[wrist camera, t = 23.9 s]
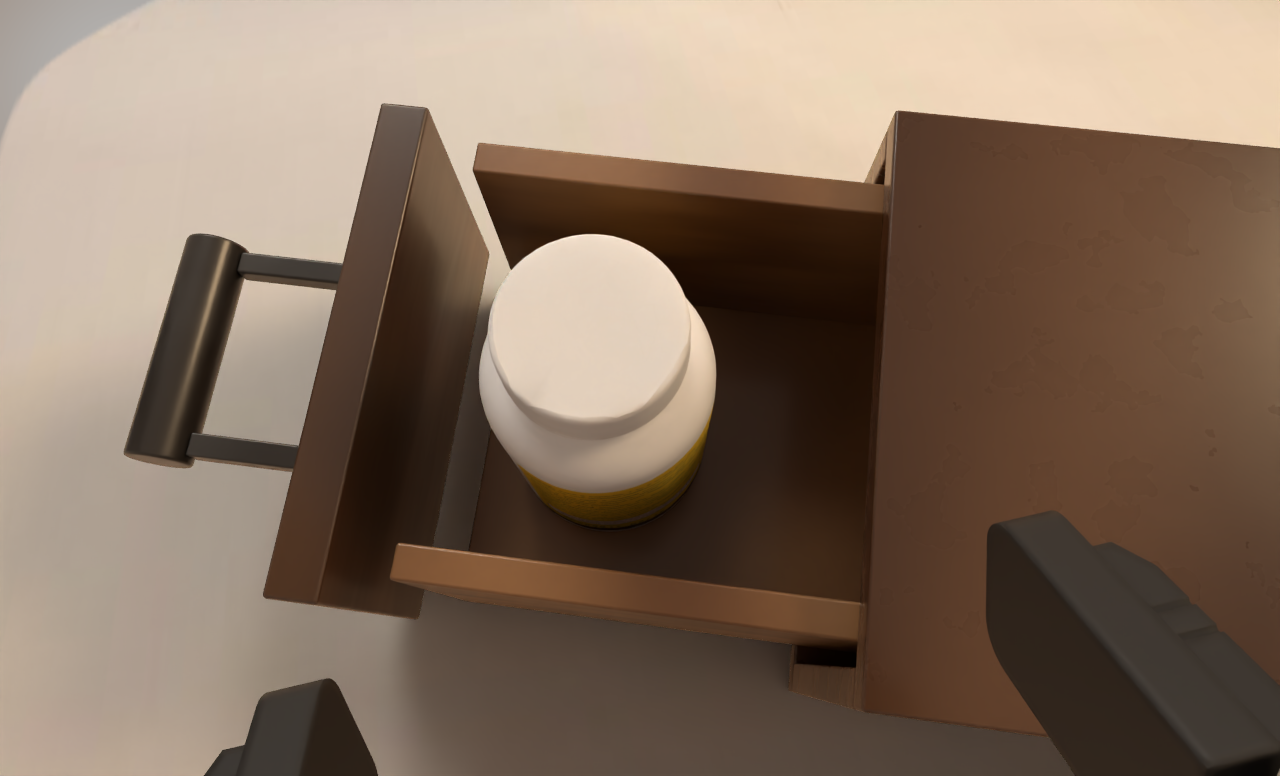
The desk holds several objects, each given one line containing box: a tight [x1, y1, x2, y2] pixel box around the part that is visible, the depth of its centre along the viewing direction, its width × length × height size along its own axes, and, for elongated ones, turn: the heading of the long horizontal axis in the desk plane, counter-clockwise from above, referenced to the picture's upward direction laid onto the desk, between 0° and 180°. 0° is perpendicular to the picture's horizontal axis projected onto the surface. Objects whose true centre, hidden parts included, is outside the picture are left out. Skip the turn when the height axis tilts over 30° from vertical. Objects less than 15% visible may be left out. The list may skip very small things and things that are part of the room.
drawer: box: [124, 103, 884, 653], centre depth 24 cm, size 21×12×8 cm, turn 83°
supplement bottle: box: [479, 234, 716, 532], centre depth 22 cm, size 5×5×10 cm
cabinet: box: [788, 111, 1280, 738], centre depth 23 cm, size 17×13×10 cm
